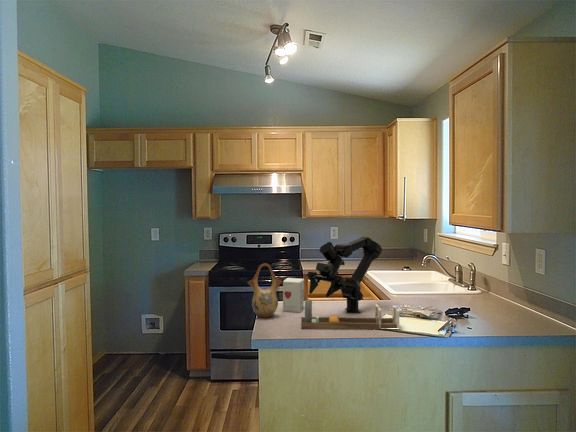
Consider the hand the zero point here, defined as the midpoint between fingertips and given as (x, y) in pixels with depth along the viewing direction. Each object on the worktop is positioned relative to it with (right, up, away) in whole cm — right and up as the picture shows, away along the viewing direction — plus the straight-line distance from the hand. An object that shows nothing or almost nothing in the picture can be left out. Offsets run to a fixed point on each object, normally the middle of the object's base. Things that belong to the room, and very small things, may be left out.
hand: (318, 294), depth 169 cm
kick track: (+13, -13, -4) cm, 18 cm away
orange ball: (+7, -11, -4) cm, 13 cm away
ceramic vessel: (-24, -12, +11) cm, 29 cm away
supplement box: (-11, -12, +22) cm, 27 cm away
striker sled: (-3, -13, -3) cm, 13 cm away
